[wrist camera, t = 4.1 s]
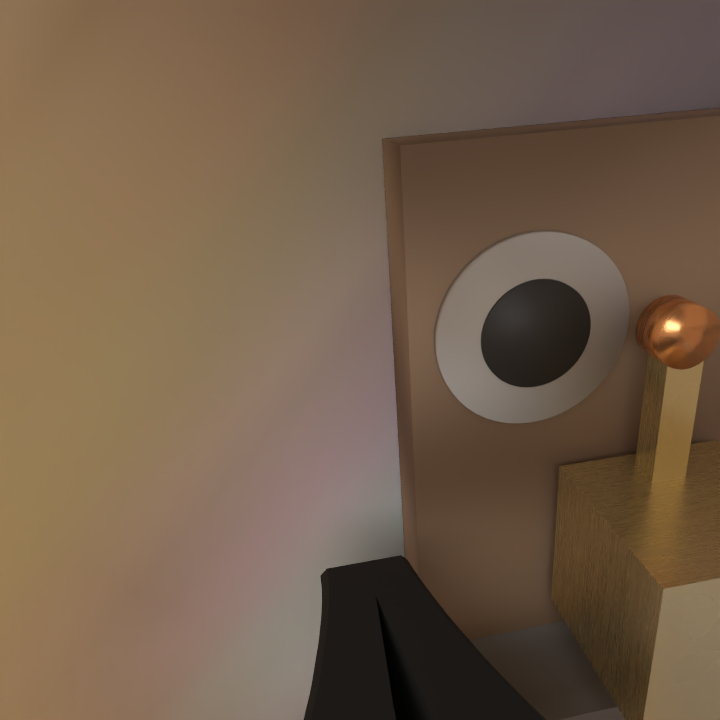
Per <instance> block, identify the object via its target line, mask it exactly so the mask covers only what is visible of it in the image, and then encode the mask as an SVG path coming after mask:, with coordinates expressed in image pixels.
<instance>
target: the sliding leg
mask: <svg viewBox="0 0 720 720" xmlns="http://www.w3.org/2000/svg"><path fill="white" fill-rule="evenodd" d="M635 334H636V340H637V343H638V345H639V346H640V347H641V349H643V350H644V351H645V352H647V353H648V360H647V369H646V377H645V385H644V394H643V402H642V410H641V419H640V427H639V435H638V444H637V452H636V454H630V455H624V456H618V457H612V458H606V459H600V460H594V461H588V462H582V463H576V464H570V465H564V466H559V479H558V495H557V511H556V526H555V542H554V558H553V573H552V589H551V599H552V601H553V603H554V604H555V606H556V608H557V609H558V611H559V612H560V614H561V616H562V617H563V619H564V621H565V622H566V624H567V625H568V627H569V629H570V630H571V632H572V634H573V635H574V637H575V638H576V640H577V642H578V643H579V645H580V647H581V648H582V650H583V651H584V653H585V655H586V656H587V658H588V660H589V661H590V663H591V665H592V666H593V668H594V669H595V671H596V673H597V674H598V676H599V678H600V679H601V681H602V682H603V684H604V686H605V687H606V689H607V691H608V692H609V694H610V695H611V697H612V699H613V700H614V702H615V704H616V705H617V707H618V708H619V710H620V712H621V713H622V715H623V717H624V718H625V720H720V442H719V441H717V440H714V441H708V442H702V443H696V444H691V439H692V433H693V426H694V420H695V414H696V407H697V401H698V395H699V389H700V382H701V376H702V370H703V363H704V360H705V359H706V358H707V357H708V356H709V355H710V354H711V353H712V352H713V350H714V349H715V347H716V345H717V343H718V340H719V337H720V323H719V320H718V318H717V316H716V315H715V313H714V312H712V311H711V310H709V309H707V308H705V307H703V306H701V305H699V304H697V303H695V302H693V301H691V300H688V299H686V298H684V297H682V296H679V295H666V296H663V297H660V298H658V299H656V300H654V301H653V302H652V303H650V304H649V305H648V306H647V307H646V308H645V309H644V310H643V312H642V313H641V315H640V317H639V319H638V321H637V325H636V331H635Z"/></svg>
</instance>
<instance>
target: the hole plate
mask: <svg viewBox="0 0 720 720" xmlns="http://www.w3.org/2000/svg"><path fill="white" fill-rule="evenodd" d="M382 145H383V163H384V182H385V200H386V219H387V237H388V255H389V274H390V292H391V311H392V329H393V347H394V366H395V384H396V402H397V421H398V439H399V458H400V476H401V494H402V513H403V531H404V550H405V559H407V560H408V561H409V563H410V564H411V566H412V567H413V569H414V570H415V572H416V573H417V575H418V576H419V578H420V579H421V580H422V582H423V583H424V585H425V586H426V587H427V589H428V590H429V591H430V593H431V594H432V595H433V597H434V598H435V599H436V600H437V602H438V603H439V604H440V606H441V607H442V608H443V609H444V611H445V612H446V613H447V614H448V616H449V617H450V618H451V619H452V620H453V622H454V623H455V624H456V625H457V626H458V628H459V629H460V630H461V631H462V632H463V633H464V634H465V636H466V637H467V638H468V639H469V640H470V641H471V642H472V643H473V645H474V646H475V647H476V648H477V649H478V650H479V651H480V653H481V654H482V655H483V656H484V657H485V658H486V659H487V660H488V661H489V662H490V664H491V665H492V666H493V667H494V668H495V669H496V670H497V671H498V672H499V673H500V674H501V675H502V676H503V677H504V678H505V679H506V680H507V681H508V682H509V683H510V684H511V685H512V686H513V687H514V688H515V689H516V690H517V691H518V693H519V694H520V695H521V696H522V697H523V698H524V699H525V700H526V701H527V702H528V703H530V704H531V705H532V706H533V707H534V708H535V709H536V710H537V711H538V712H539V713H540V714H541V715H542V716H543V717H544V718H545V719H546V720H625V718H624V717H623V715H622V713H621V712H620V710H619V708H618V707H617V705H616V704H615V702H614V700H613V699H612V697H611V695H610V694H609V692H608V691H607V689H606V687H605V686H604V684H603V682H602V681H601V679H600V678H599V676H598V674H597V673H596V671H595V669H594V668H593V666H592V665H591V663H590V661H589V660H588V658H587V656H586V655H585V653H584V651H583V650H582V648H581V647H580V645H579V643H578V642H577V640H576V638H575V637H574V635H573V634H572V632H571V630H570V629H569V627H568V625H567V624H566V622H565V621H564V619H563V617H562V616H561V614H560V612H559V611H558V609H557V608H556V606H555V604H554V603H553V601H552V599H551V589H552V573H553V558H554V542H555V526H556V511H557V495H558V479H559V466H564V465H570V464H576V463H582V462H588V461H594V460H600V459H606V458H612V457H618V456H624V455H630V454H636V452H637V444H638V435H639V427H640V419H641V410H642V402H643V394H644V385H645V377H646V369H647V360H648V353H647V352H645V351H644V350H643V349H641V347H640V346H639V345H638V343H637V340H636V334H635V331H636V325H637V321H638V319H639V317H640V315H641V313H642V312H643V310H644V309H645V308H646V307H647V306H648V305H649V304H650V303H652V302H653V301H654V300H656V299H658V298H660V297H663V296H666V295H679V296H682V297H684V298H686V299H688V300H691V301H693V302H695V303H697V304H699V305H701V306H703V307H705V308H707V309H709V310H711V311H712V312H714V313H715V315H716V316H717V318H718V320H719V323H720V108H713V109H702V110H691V111H680V112H669V113H658V114H647V115H636V116H625V117H614V118H604V119H593V120H582V121H571V122H560V123H549V124H538V125H527V126H516V127H505V128H495V129H484V130H473V131H462V132H451V133H440V134H429V135H418V136H407V137H396V138H386V139H382ZM714 440H717V441H719V442H720V337H719V340H718V343H717V345H716V347H715V349H714V350H713V352H712V353H711V354H710V355H709V356H708V357H707V358H706V359H705V360H704V363H703V370H702V376H701V382H700V389H699V395H698V401H697V407H696V414H695V420H694V426H693V433H692V439H691V444H696V443H702V442H708V441H714Z"/></svg>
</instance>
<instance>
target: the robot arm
mask: <svg viewBox="0 0 720 720" xmlns="http://www.w3.org/2000/svg"><path fill="white" fill-rule="evenodd" d="M321 584H322V616H321V626H320V636H319V644H318V650H317V656H316V662H315V668H314V674H313V681H312V686H311V691H310V696H309V700H308V704H307V708H306V713H305V717H304V720H546V719H545V718H544V717H543V716H542V715H541V714H540V713H539V712H538V711H537V710H536V709H535V708H534V707H533V706H532V705H531V704H530V703H528V702H527V701H526V700H525V699H524V698H523V697H522V696H521V695H520V694H519V693H518V691H517V690H516V689H515V688H514V687H513V686H512V685H511V684H510V683H509V682H508V681H507V680H506V679H505V678H504V677H503V676H502V675H501V674H500V673H499V672H498V671H497V670H496V669H495V668H494V667H493V666H492V665H491V664H490V662H489V661H488V660H487V659H486V658H485V657H484V656H483V655H482V654H481V653H480V651H479V650H478V649H477V648H476V647H475V646H474V645H473V643H472V642H471V641H470V640H469V639H468V638H467V637H466V636H465V634H464V633H463V632H462V631H461V630H460V629H459V628H458V626H457V625H456V624H455V623H454V622H453V620H452V619H451V618H450V617H449V616H448V614H447V613H446V612H445V611H444V609H443V608H442V607H441V606H440V604H439V603H438V602H437V600H436V599H435V598H434V597H433V595H432V594H431V593H430V591H429V590H428V589H427V587H426V586H425V585H424V583H423V582H422V580H421V579H420V578H419V576H418V575H417V573H416V572H415V570H414V569H413V567H412V566H411V564H410V563H409V561H408V560H407V559H405V558H404V557H403V556H395V557H390V558H384V559H379V560H373V561H368V562H362V563H356V564H351V565H345V566H340V567H334V568H329V569H326V570H325V571H324V573H323V574H322V575H321Z"/></svg>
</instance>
